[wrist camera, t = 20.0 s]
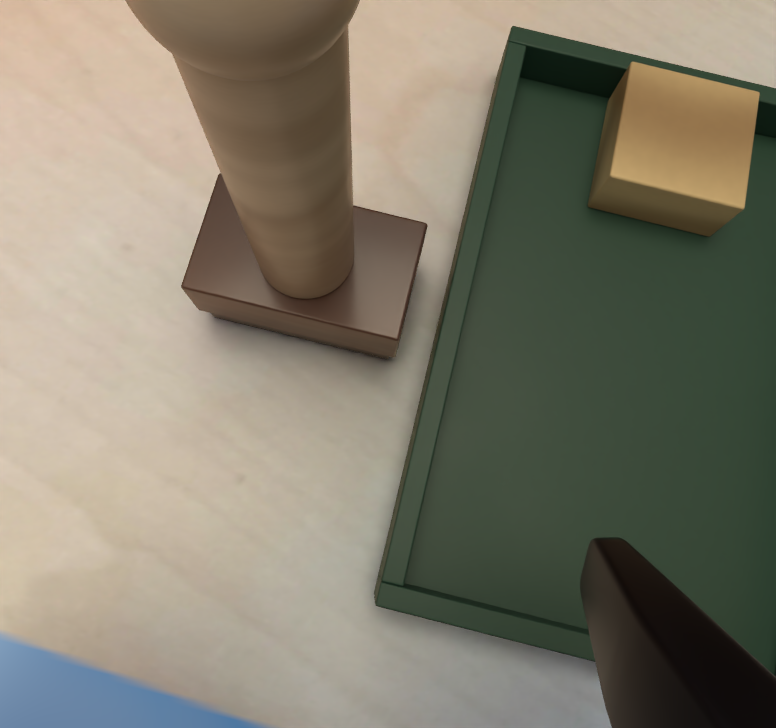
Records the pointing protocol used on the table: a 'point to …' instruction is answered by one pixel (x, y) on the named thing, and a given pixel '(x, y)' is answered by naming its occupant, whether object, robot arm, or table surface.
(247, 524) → the table surface
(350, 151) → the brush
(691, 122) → the golden tan square block
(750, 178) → the tray
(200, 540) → the table surface
